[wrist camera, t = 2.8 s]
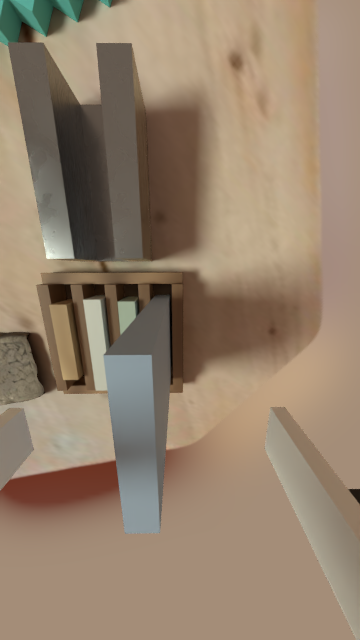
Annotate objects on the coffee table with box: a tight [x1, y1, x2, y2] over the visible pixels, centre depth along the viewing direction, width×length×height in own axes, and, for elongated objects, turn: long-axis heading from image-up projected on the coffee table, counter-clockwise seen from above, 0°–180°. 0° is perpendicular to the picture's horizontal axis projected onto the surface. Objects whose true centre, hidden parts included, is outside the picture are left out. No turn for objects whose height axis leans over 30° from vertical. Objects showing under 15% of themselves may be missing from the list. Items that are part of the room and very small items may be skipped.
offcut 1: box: [49, 299, 84, 380], centre depth 23 cm, size 2×9×4 cm, turn 0°
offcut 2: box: [83, 295, 111, 391], centre depth 23 cm, size 2×11×4 cm, turn 0°
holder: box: [8, 42, 152, 261], centre depth 18 cm, size 8×14×6 cm, turn 0°
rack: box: [36, 272, 183, 394], centre depth 23 cm, size 16×15×3 cm
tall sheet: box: [103, 295, 171, 533], centre depth 17 cm, size 2×10×17 cm, turn 0°
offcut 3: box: [118, 296, 140, 334], centre depth 23 cm, size 2×8×4 cm, turn 0°
